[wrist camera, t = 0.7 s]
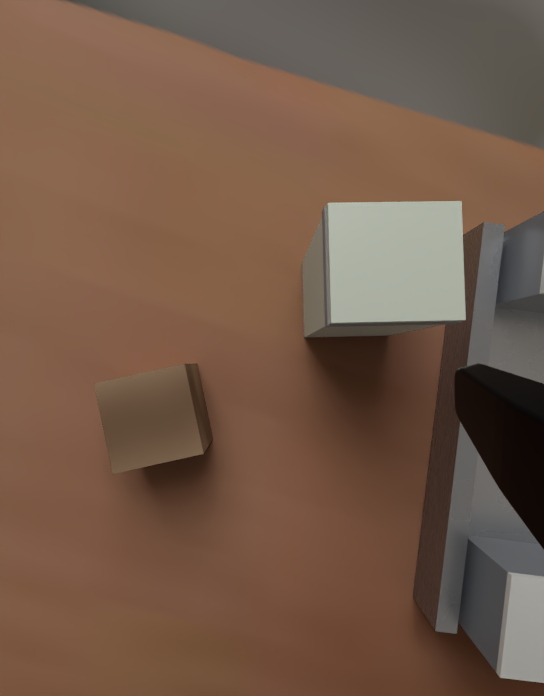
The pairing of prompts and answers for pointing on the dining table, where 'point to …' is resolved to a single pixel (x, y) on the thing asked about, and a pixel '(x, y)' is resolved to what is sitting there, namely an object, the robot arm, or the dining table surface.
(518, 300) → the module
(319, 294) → the block
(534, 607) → the block
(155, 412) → the walnut block
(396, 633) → the dining table surface
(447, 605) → the grey base plate
